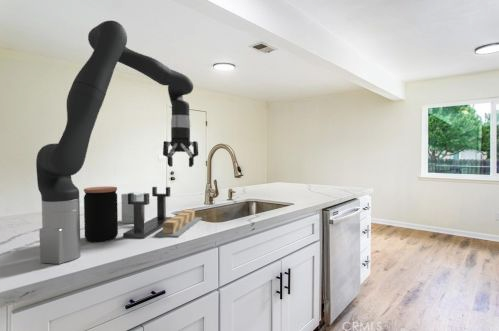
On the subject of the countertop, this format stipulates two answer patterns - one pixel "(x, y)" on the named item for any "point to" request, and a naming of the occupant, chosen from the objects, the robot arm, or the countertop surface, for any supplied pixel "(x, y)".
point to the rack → (139, 226)
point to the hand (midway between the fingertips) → (180, 166)
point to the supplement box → (130, 206)
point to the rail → (178, 221)
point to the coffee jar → (100, 214)
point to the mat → (179, 229)
